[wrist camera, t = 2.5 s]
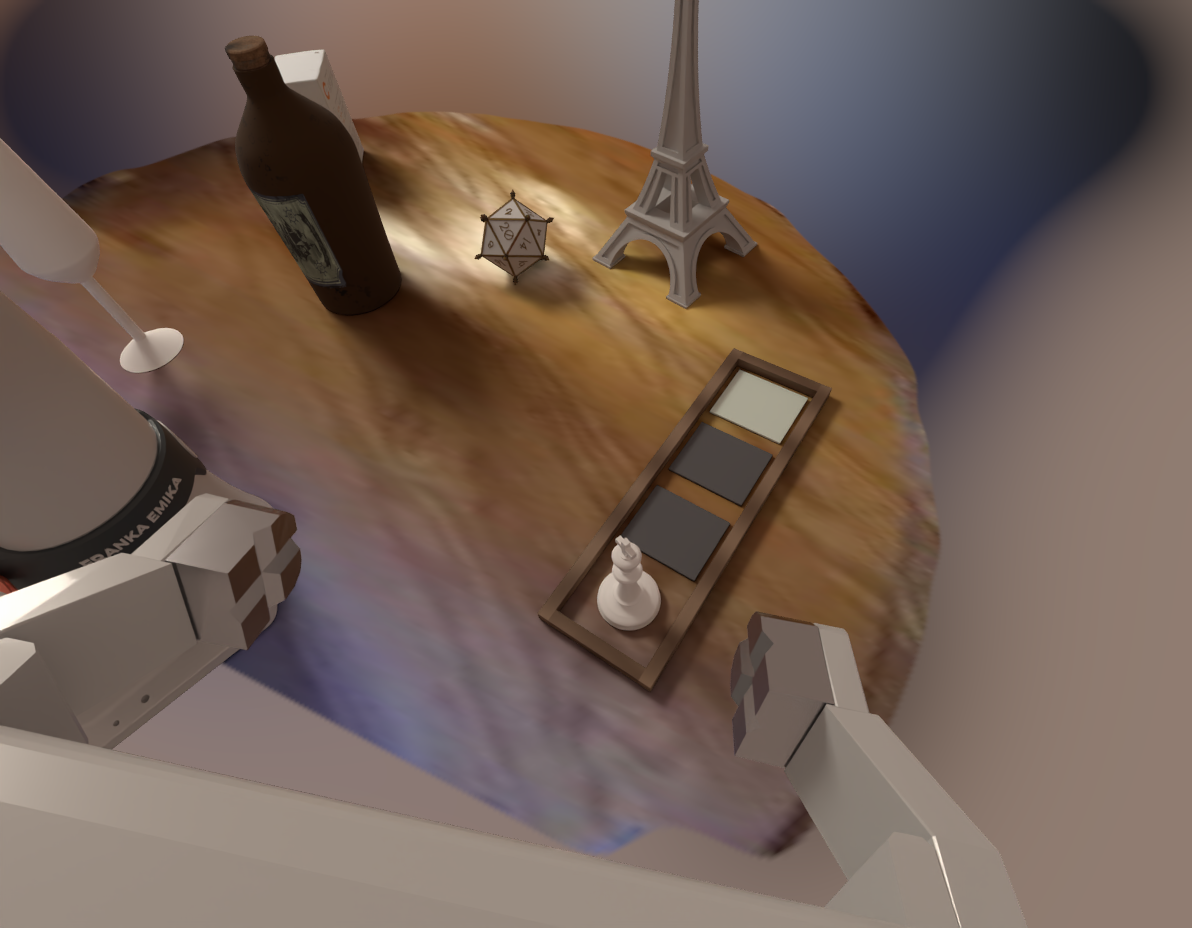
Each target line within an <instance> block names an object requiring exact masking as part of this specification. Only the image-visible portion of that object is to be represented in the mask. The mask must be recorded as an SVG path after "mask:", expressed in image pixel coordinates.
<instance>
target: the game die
mask: <svg viewBox="0 0 1192 928" xmlns="http://www.w3.org/2000/svg"><path fill="white" fill-rule="evenodd" d="M510 194H511V195H510V196H511V199H510V200H509V201H508V202H507V203H505V204H504V205H503V206H502V207H500V208H499V209H498V210H496V211H495V212H494V213H493V214H491V215H490V216H489V217H488V218H487V216H486V215H485V214H484V215H481V217H480V218H481V221H483V222H485V226H484V234H483V242H482V249H481V254H478V255H476V257H475V259H478V260H479V259H480V258H481V257H484V258H486V259H487V260H489V261H490V262H492V263H493V264H495V265H497V266H498V267H500V268H501V269H503V270H504V271H506V272H507V273H509V274H511V275H512V276H514V279H513V280H514V281H513V282H514V283H515V285H516V283H517V282H518V281H517V280H518V279H517V276H518V275H520V274H521V273H522V272H524V271H525V270H527V269H528V268H529V267H531V266H532V265H533V264H535V263H536V262H537V261H539V260H545V261H547V260H549V258H548V256H546V255H544V250H545V240H546V231H547V223H550V222H552V221H553V219H554V218H550V217H549V219H547V220H545V219H543V218H542V217H541V216H539V215H538V214H536V213H535V212H533V211H532V210H530V209H529V208H527V207H526V206H524V205H523V204H522V203H520V202H519V201H517V200H516V199H515V192H514V191H513V190H512V192H511V193H510Z"/></svg>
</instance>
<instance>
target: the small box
mask: <svg viewBox="0 0 1192 928" xmlns="http://www.w3.org/2000/svg"><path fill="white" fill-rule="evenodd" d="M275 62H276V64H277V66H278V68H279V71H280V73H281V76H282V78H283V80H284V83H285V84H286V85H287V86H288V87H289V88H291V89H292V90H294V91H296V92H297V93H299V94H301V95H303V96H305V97H307V98H308V99H310V100H312V101H314V102H316V103H317V104H319V105H321V106H323V107H324V108H326V109H327V110H329V111H330V112H332V113H333V114H334V115H335V116H336V117H337V118H338V119H339V120H340V122H341V123H342V124H343V125H344V127H345V128H346V129H347V131H348V132H349V134H350V135H351V137H352V139H353V141H354V143H355V145H356V148H357V150H358V153H359V156H360V159H361V162H362V158H363V151H364V149H363V147H362V144H361V142H360V139H359V137H358V134H357V131H356V129H355V127H354V124H353V122H352V119H351V117H350V114H349V112H348V109H347V106H346V104H345V101H344V98H343V96H342V93H341V91H340V88H339V85H338V83H337V80H336V78H335V75H334V73H333V70H332V68H331V65H330V63H329V60H328V57H327V55H326V52H325V50H313V51H305V52H299V53H292V54H285V55H279V56H275Z"/></svg>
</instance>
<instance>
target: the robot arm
mask: <svg viewBox="0 0 1192 928" xmlns="http://www.w3.org/2000/svg"><path fill="white" fill-rule="evenodd" d="M197 457H198V456H197V455H196V454H195V453H194V452H193V451H192V450H191V449H190V448H189V447H188V446H187V445H186V444H185V443H184V442H183V441H182V440H181V439H180V438H178V437H177V436H176V435H175V434H174V433H173V432H172V431H171V430H170V429H169V428H167V427H166V426H165V425H164V424H163V423H161V422H160V421H158V420H155V419H154V418H152V417H151V416H150V415H148V414H147V413H145V412H144V411H141V410H138V409H135V408H133V407H132V406H131V405H130V404H129V403H128V402H126V401H125V400H124V399H123V398H122V397H121V396H120V395H119V394H118V393H117V392H116V391H114V390H113V389H112V388H111V387H110V386H109V385H108V384H107V383H106V382H105V381H104V380H102V379H101V378H100V377H99V376H98V375H97V374H96V373H95V372H94V371H93V370H92V369H90V368H89V367H88V366H87V365H86V364H85V363H84V362H83V361H82V360H81V359H80V358H78V357H77V356H76V355H75V354H74V353H73V352H72V351H71V350H70V349H69V348H68V347H66V346H65V345H64V344H63V343H62V342H61V341H60V340H59V339H58V338H57V337H56V336H54V335H53V334H52V333H50V332H49V331H48V330H46V329H45V328H44V327H43V326H41V325H40V324H39V323H38V322H37V321H35V320H34V319H33V318H32V317H31V316H29V315H28V314H27V313H26V312H25V311H24V310H22V309H21V308H20V307H19V306H18V305H16V304H15V303H14V302H13V301H12V300H11V299H9V298H8V297H7V296H6V295H5V294H4V293H2V292H1V291H0V928H1028V927H1027V924H1026V921H1025V919H1024V916H1023V913H1022V911H1021V908H1020V905H1019V903H1018V900H1017V898H1016V895H1015V892H1014V889H1013V887H1012V884H1011V881H1010V879H1009V876H1008V874H1007V871H1006V868H1005V866H1004V863H1003V860H1002V858H1001V855H1000V853H999V851H998V850H997V849H996V848H995V847H994V846H993V844H992V843H991V842H990V841H989V840H988V839H987V838H986V837H985V835H984V834H983V833H982V832H981V831H980V830H979V829H978V828H977V827H976V825H975V824H974V823H973V822H972V821H971V820H970V818H968V816H967V815H966V814H965V813H964V812H963V811H962V809H961V808H960V807H959V806H958V805H957V804H956V803H955V801H954V800H953V799H952V798H951V797H950V796H949V795H948V794H947V793H946V791H945V790H944V789H943V788H942V787H941V786H940V785H939V784H938V782H937V781H936V780H935V779H934V778H933V777H932V776H931V774H930V773H929V772H928V771H927V770H926V769H925V768H924V766H923V765H922V764H921V763H920V762H919V761H918V760H917V759H916V758H915V756H914V755H913V754H912V753H911V752H910V751H909V749H907V747H906V746H905V745H904V744H903V743H902V742H901V740H900V739H899V738H898V737H897V736H896V735H895V734H894V733H893V731H892V730H891V729H890V728H889V727H888V726H887V725H886V723H885V722H884V721H883V720H882V719H881V718H880V717H879V716H878V715H875V714H870V713H869V710H868V706H867V702H866V699H865V695H864V691H863V688H862V684H861V680H860V677H859V673H858V669H857V665H856V662H855V658H854V654H853V651H852V647H851V643H850V640H849V636H848V634H847V632H846V631H845V630H844V629H841V628H836V627H831V626H826V625H821V624H817V623H814V624H813V623H811V622H807V621H802V620H797V619H792V618H787V617H782V616H777V615H772V614H767V613H762V612H757V611H756V612H755V613H754V614H753V615H752V617H751V619H750V621H749V623H748V625H747V629H748V639H746V640H744V641H742V642H740V643H739V645H738V648H737V650H736V653H735V655H734V660H733V665H732V669H731V683H730V684H731V697H732V698H733V700H734V701H735V703H736V704H737V705H738V709H737V711H736V713H735V715H734V717H733V719H732V723H733V738H734V754H735V756H736V757H740V758H744V759H748V760H752V761H757V762H761V763H765V764H769V765H773V766H777V767H781V768H785V770H784V771H785V773H786V775H787V777H788V778H789V780H790V782H791V784H792V785H793V787H794V789H795V790H796V792H797V794H798V796H799V797H800V799H801V801H802V802H803V804H804V806H805V808H806V809H807V811H808V813H809V814H810V816H811V818H812V820H813V821H814V823H815V825H816V826H817V828H818V830H819V832H820V833H821V835H822V837H823V838H824V840H825V842H826V843H827V845H828V847H829V849H830V850H831V852H832V854H833V856H834V857H835V859H836V861H837V862H838V864H839V866H840V868H841V869H842V871H843V873H844V875H845V876H846V878H847V880H848V882H847V883H846V884H845V885H844V886H843V887H842V888H841V889H840V890H839V892H838V893H837V894H836V895H835V896H834V897H833V898H832V899H831V900H830V901H829V902H828V904H827V905H826V906H825V907H819V906H815V905H810V904H806V903H801V902H797V901H792V900H787V899H783V898H778V897H774V896H769V895H765V894H760V893H756V892H751V891H747V890H742V889H738V888H733V887H729V886H724V885H720V884H715V883H710V882H706V881H702V880H697V879H693V878H688V877H684V876H679V875H675V874H670V873H666V872H660V871H657V870H652V869H648V868H643V867H639V866H634V865H629V864H625V863H621V862H616V861H612V860H607V859H603V858H598V857H594V856H589V855H585V854H580V853H576V852H571V851H567V850H562V849H557V848H553V847H548V846H544V845H539V844H534V843H530V842H526V841H521V840H517V839H512V838H508V837H503V836H499V835H494V834H490V833H485V832H481V831H476V830H471V829H467V828H463V827H458V826H454V825H449V824H445V823H440V822H436V821H431V820H427V819H422V818H418V817H413V816H409V815H404V814H400V813H395V812H391V811H387V810H381V809H377V808H373V807H368V806H364V805H359V804H355V803H350V802H345V801H341V800H337V799H332V798H327V797H323V796H318V795H314V794H310V793H305V792H300V791H296V790H291V789H286V788H282V787H278V786H273V785H268V784H264V783H260V782H255V781H251V780H246V779H241V778H237V777H233V776H228V775H223V774H219V773H214V772H210V771H205V770H200V769H196V768H192V767H187V766H183V765H178V764H174V763H169V762H164V761H160V760H155V759H151V758H146V757H142V756H138V755H133V754H129V753H124V752H119V751H115V750H111V749H113V748H114V747H115V746H117V745H118V744H119V743H121V742H122V741H123V740H124V739H126V738H127V737H128V736H129V735H131V734H132V733H133V732H135V731H136V730H137V729H138V728H140V727H141V726H142V725H143V724H145V723H146V722H147V721H148V720H150V719H151V718H152V717H153V716H155V715H156V714H157V713H159V712H160V711H161V710H163V709H164V708H165V707H166V706H168V705H169V704H170V703H171V702H172V701H174V700H175V699H177V698H178V697H179V696H180V695H182V694H183V693H184V692H185V691H187V690H188V689H189V688H190V687H192V686H193V685H194V684H196V683H197V682H198V681H199V680H201V679H202V678H203V677H205V676H206V675H207V674H208V673H210V672H211V671H212V670H213V669H215V668H216V667H217V666H219V665H220V664H221V663H222V662H224V661H225V660H226V659H227V658H229V657H230V656H231V655H233V654H234V653H235V652H236V651H238V650H239V649H244V650H248V649H249V648H250V646H251V645H252V644H253V642H254V641H255V640H256V638H257V637H258V636H259V634H260V633H261V632H262V631H263V630H264V629H266V628H267V627H268V626H269V625H270V624H271V623H272V622H273V620H274V619H275V617H276V613H277V604H278V603H280V602H282V601H284V600H285V599H286V598H287V597H288V595H289V594H290V592H291V591H292V589H293V588H294V586H295V584H296V581H297V578H298V576H299V573H300V569H301V552H300V548H299V547H298V546H297V545H296V544H295V542H294V541H293V540H292V539H291V537H292V535H293V534H294V533H295V532H296V531H297V527H296V522H295V518H294V515H292V514H290V513H288V512H285V511H281V510H277V509H273V508H272V507H271V506H270V505H269V504H268V503H267V502H265V501H264V500H262V499H261V498H259V497H257V496H254V495H252V494H249V493H246V492H244V491H241V490H239V489H237V488H235V487H233V486H232V485H230V484H228V483H226V482H225V481H223V480H221V479H220V478H218V477H217V476H215V475H214V474H212V473H211V472H209V471H208V470H207V469H206V468H205V467H204V465H203V464H202V463H201V462H200V460H199V459H198V458H197Z"/></svg>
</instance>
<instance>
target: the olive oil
mask: <svg viewBox="0 0 1192 928" xmlns="http://www.w3.org/2000/svg"><path fill="white" fill-rule="evenodd" d="M225 51H226V53H227V55H228V57H229V59H231V61H232V63H233V70H234V71H235V74H236V75H237V77H238V79H239V81H240V83H241V85H242V87H243V88H244V90H245V92H246V94H247V102H246V106H245V109H244V113H243V116H242V119H241V122H240V125H239V128H238V132H237V136H236V142H235V149H236V156H237V160H238V164H239V168H240V171H241V174H242V176H243V178H244V180H245V182H246V184H247V186H248V187H249V189H250V190H251V192H252V193H253V195H254V197H255V198H256V200H257V201H258V203H259V204H260V206H261V207H262V209H263V210H264V212H265V213H266V215H267V217H268V218H269V220H270V221H271V223H272V224H273V226H274V227H275V229H276V231H277V232H278V234H279V235H280V237H281V238H282V240H283V242H284V243H285V245H286V246H287V248H288V249H289V251H290V253H291V254H292V256H293V257H294V259H295V261H296V262H297V264H298V265H299V267H300V268H301V270H302V272H303V273H304V275H305V277H306V278H307V280H308V281H309V283H310V285H311V286H312V288H313V290H314V291H315V293H316V294H317V296H318V298H319V299H320V301H321V302H322V304H323V305H324V306H325V307H326V308H327V309H329V310H330V311H332V312H335V313H339V314H345V315H354V314H361V313H366V312H369V311H372V310H374V309H377V308H379V307H380V306H382V305H384V304H385V303H387V302H388V301H389V300H390V299H391V298H392V297H393V296H394V295H395V294H396V293H397V291H398V289H399V287H400V284H401V274H400V271H399V268H398V265H397V263H396V260H395V257H394V255H393V252H392V249H391V246H390V244H389V241H388V238H387V236H386V233H385V230H384V227H383V224H382V221H381V218H380V215H379V212H378V210H377V207H376V204H375V201H374V198H373V195H372V192H371V189H370V186H369V183H368V180H367V177H366V174H365V171H364V168H363V165H362V162H361V159H360V156H359V153H358V150H357V148H356V145H355V143H354V141H353V139H352V137H351V135H350V134H349V132H348V131H347V129H346V128H345V127H344V125H343V124H342V123H341V122H340V120H339V119H338V118H337V117H336V116H335V115H334V114H333V113H332V112H330V111H329V110H327V109H326V108H324V107H323V106H321V105H319V104H317V103H316V102H314V101H312V100H310V99H308V98H307V97H305V96H303V95H301V94H299V93H297V92H296V91H294V90H292V89H291V88H289V87H288V86H287V85H286V84H285V83H284V80H283V78H282V76H281V73H280V71H279V68H278V66H277V64H276V62H275V59H274V57H273V56H272V55H270V54H269V52H268V47H267V45H266V43H265V41H264V39H263V38H261V37H258V36H245V37H241V38H238V39H235V40H233V41H232V42H230V43H229V44H228V45H227V46H226V47H225Z"/></svg>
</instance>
